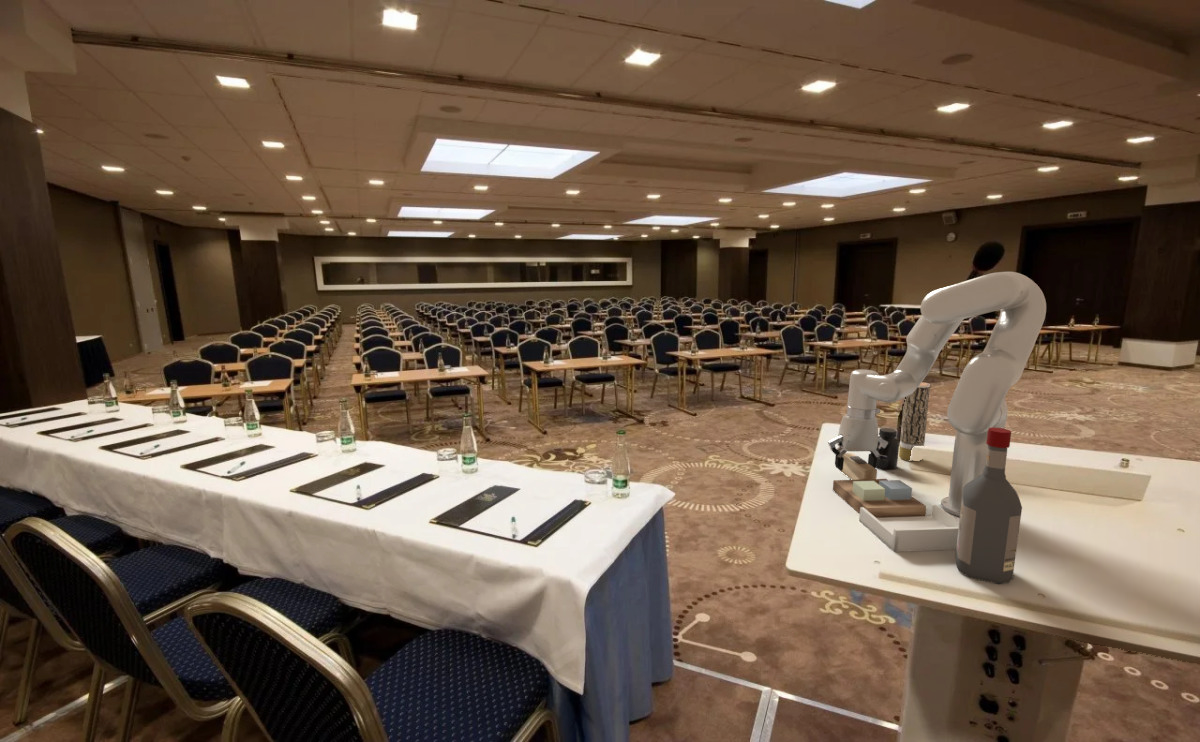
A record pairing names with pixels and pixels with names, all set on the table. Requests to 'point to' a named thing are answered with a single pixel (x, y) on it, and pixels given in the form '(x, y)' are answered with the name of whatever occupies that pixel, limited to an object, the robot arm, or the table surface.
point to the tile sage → (868, 490)
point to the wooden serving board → (879, 502)
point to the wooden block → (857, 468)
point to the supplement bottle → (888, 449)
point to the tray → (914, 530)
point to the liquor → (989, 518)
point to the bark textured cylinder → (914, 420)
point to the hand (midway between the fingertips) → (855, 468)
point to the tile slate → (896, 489)
